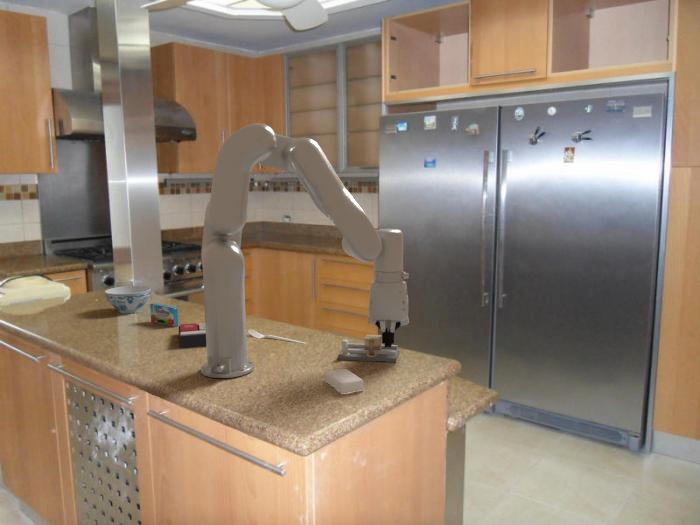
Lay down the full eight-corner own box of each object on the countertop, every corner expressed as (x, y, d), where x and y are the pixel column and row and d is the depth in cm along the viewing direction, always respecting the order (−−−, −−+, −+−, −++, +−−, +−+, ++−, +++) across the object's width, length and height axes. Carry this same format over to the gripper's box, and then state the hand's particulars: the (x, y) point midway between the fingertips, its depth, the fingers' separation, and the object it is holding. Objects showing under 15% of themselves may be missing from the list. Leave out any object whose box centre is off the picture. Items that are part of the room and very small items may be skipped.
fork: (303, 347, 163) (303, 341, 163) (246, 337, 172) (246, 331, 172) (309, 344, 166) (309, 338, 165) (253, 334, 175) (253, 328, 175)
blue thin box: (178, 326, 184) (177, 307, 183) (174, 327, 183) (173, 308, 182) (155, 321, 191) (153, 302, 190) (151, 322, 190) (150, 303, 189)
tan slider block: (378, 355, 149) (378, 342, 148) (363, 354, 149) (362, 341, 149) (381, 347, 155) (381, 335, 155) (366, 347, 156) (366, 334, 155)
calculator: (216, 320, 178) (219, 330, 163) (216, 334, 178) (220, 345, 164) (178, 323, 174) (178, 333, 160) (179, 337, 175) (179, 349, 161)
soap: (325, 383, 133) (324, 370, 133) (346, 379, 135) (346, 367, 135) (341, 396, 125) (341, 383, 125) (364, 392, 127) (364, 379, 127)
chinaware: (135, 304, 216) (134, 284, 214) (160, 310, 207) (159, 288, 206) (97, 312, 204) (96, 290, 202) (122, 318, 195) (121, 295, 194)
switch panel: (396, 362, 147) (396, 345, 146) (337, 359, 149) (337, 342, 149) (399, 351, 156) (399, 335, 155) (344, 349, 158) (343, 333, 157)
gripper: (418, 275, 152) (417, 343, 155) (361, 274, 155) (362, 340, 158) (416, 280, 145) (416, 351, 148) (357, 278, 148) (357, 349, 150)
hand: (388, 345), depth 153 cm, fingers closed
